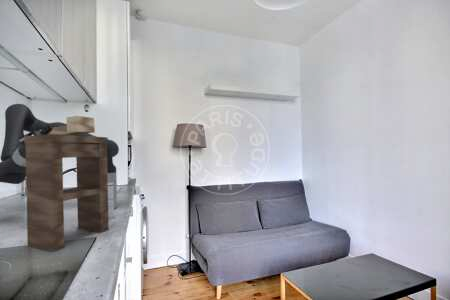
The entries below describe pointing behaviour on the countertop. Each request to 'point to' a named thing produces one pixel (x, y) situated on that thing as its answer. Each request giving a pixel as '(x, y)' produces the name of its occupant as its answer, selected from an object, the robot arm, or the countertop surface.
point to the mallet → (75, 126)
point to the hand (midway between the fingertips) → (54, 127)
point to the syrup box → (110, 201)
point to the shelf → (53, 187)
